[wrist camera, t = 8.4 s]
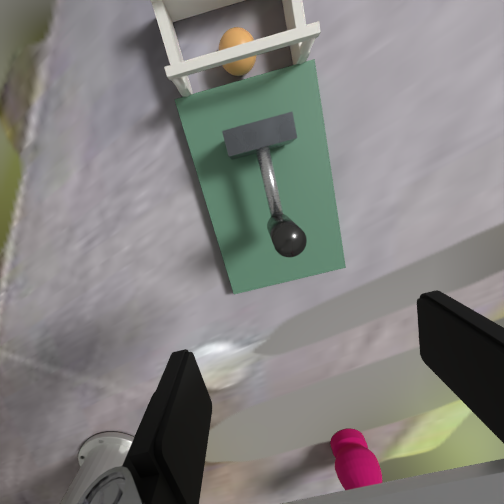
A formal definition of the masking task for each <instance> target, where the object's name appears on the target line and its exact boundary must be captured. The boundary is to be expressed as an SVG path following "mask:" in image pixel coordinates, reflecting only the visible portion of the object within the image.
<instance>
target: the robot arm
mask: <svg viewBox="0 0 504 504" xmlns="http://www.w3.org/2000/svg"><path fill="white" fill-rule="evenodd" d="M417 313H418V328H419V344H420V355H421V358H422V360H423V361H424V362H425V364H426V365H427V366H428V367H429V368H430V369H431V370H432V371H433V372H434V373H435V374H436V375H437V376H438V377H439V378H440V379H441V380H442V381H443V382H444V383H445V384H446V385H447V386H448V387H449V388H450V389H451V390H452V391H453V392H454V393H455V394H456V395H457V396H458V397H459V398H460V399H461V400H462V401H463V402H464V403H465V404H466V405H467V406H468V407H469V408H470V409H471V410H472V412H473V413H474V414H476V416H477V417H478V418H479V419H480V420H481V421H482V422H483V423H484V424H485V425H486V426H487V427H488V428H489V429H490V430H491V431H492V432H493V433H494V434H495V435H496V436H497V437H498V438H499V439H500V440H501V441H502V442H503V443H504V328H503V327H501V326H500V325H498V324H496V323H495V322H493V321H491V320H489V319H488V318H486V317H484V316H482V315H481V314H479V313H477V312H475V311H474V310H472V309H470V308H468V307H467V306H465V305H463V304H461V303H460V302H458V301H456V300H454V299H453V298H451V297H449V296H447V295H446V294H444V293H442V292H440V291H432V292H428V293H424V294H421V296H420V298H419V299H418V300H417ZM211 415H212V402H211V399H210V396H209V394H208V391H207V388H206V386H205V383H204V381H203V378H202V375H201V373H200V370H199V367H198V365H197V362H196V360H195V357H194V355H193V353H192V352H188V350H186V349H185V350H181V351H177V352H173V353H172V354H171V356H170V359H169V361H168V363H167V366H166V368H165V371H164V373H163V375H162V378H161V380H160V382H159V385H158V387H157V390H156V392H155V393H154V394H153V396H152V397H151V400H150V402H149V404H148V407H147V409H146V411H145V414H144V416H143V418H142V421H141V423H140V425H139V428H138V430H137V432H136V435H135V437H133V436H130V435H128V434H124V433H119V432H105V433H100V434H97V435H94V436H93V437H91V438H89V439H88V440H87V441H86V442H85V443H84V445H83V446H82V448H81V450H80V452H79V455H78V462H79V465H80V467H81V468H80V469H79V471H78V473H77V475H76V476H75V478H74V480H73V482H72V483H71V485H70V487H69V489H68V490H67V492H66V494H65V496H64V497H63V499H62V501H61V503H60V504H199V499H200V492H201V485H202V478H203V471H204V464H205V457H206V449H207V443H208V436H209V429H210V422H211ZM282 504H504V459H501V460H495V461H490V462H485V463H480V464H475V465H470V466H464V467H460V468H454V469H450V470H444V471H439V472H434V473H429V474H424V475H419V476H414V477H409V478H404V479H400V480H394V481H389V482H384V483H379V484H374V485H369V486H364V487H359V488H355V489H350V490H345V491H340V492H335V493H330V494H325V495H320V496H315V497H311V498H306V499H301V500H296V501H292V502H287V503H282Z"/></svg>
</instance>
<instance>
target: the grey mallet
mask: <svg viewBox="0 0 504 504" xmlns="http://www.w3.org/2000/svg"><path fill="white" fill-rule="evenodd" d="M222 133H223V137H224V141H225V145H226V148H227V152H228V156H229V158H230V159H231V160H233V159H236V158H240V157H244V156H248V155H251V154H255V153H256V154H257V158H258V163H259V167H260V171H261V176H262V180H263V184H264V189H265V193H266V197H267V202H268V206H269V210H270V215H271V218H270V219H269V221H268V223H267V229H268V232H269V235H270V237H271V240H272V242H273V245H274V247H275V250H276V251H277V252H278V253H279V254H280V255H281V256H284V257H295V256H297V255H299V254H300V253H302V252H303V250H304V249H305V247H306V243H307V238H306V235H305V233H304V231H303V230H302V229H301V228H300V227H299V226H298V225H297V224H295V223H294V222H293V221H292V220H291V219H290V218H289V217H288V216H287V215H285V214H283V209H282V205H281V200H280V196H279V191H278V186H277V182H276V177H275V172H274V168H273V163H272V158H271V154H270V149H274V148H277V147H281V146H285V145H288V144H290V143H292V142H293V141H294V140H295V139H297V133H296V128H295V122H294V117H293V111H292V112H288V113H285V114H281V115H278V116H274V117H270V118H267V119H263V120H259V121H256V122H252V123H249V124H245V125H241V126H238V127H234V128H231V129H227V130H223V131H222Z"/></svg>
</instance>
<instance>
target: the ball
mask: <svg viewBox="0 0 504 504" xmlns="http://www.w3.org/2000/svg"><path fill="white" fill-rule="evenodd" d="M250 41H254V39H253V37H252V36H251V34H250V33H249V32H248V31H246V30H245V29H243V28H239V27H234V28H231V29H229V30H228V31H226V32H225V33H224V35H223V36H222V38H221V40H220V44H219V51H220V50H223V49H227V48H230V47H233V46H237V45H240V44H243V43H247V42H250ZM255 61H256V55H255V56H252V57H249V58H245V59H242V60H238V61H235V62H231V63H228V64H225V65H222V66H223V67H224V69H225V70H226V71H227V72H228V73H230V74H232V75H234V76H242V75H245V74H247V73H248V72H249V71H250V70H251V69H252V67H253V66H254V63H255Z"/></svg>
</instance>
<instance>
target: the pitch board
mask: <svg viewBox="0 0 504 504" xmlns="http://www.w3.org/2000/svg"><path fill="white" fill-rule="evenodd" d="M175 103H176V106H177V109H178V112H179V116H180V119H181V122H182V126H183V129H184V132H185V135H186V139H187V142H188V145H189V149H190V152H191V155H192V158H193V162H194V165H195V168H196V172H197V175H198V178H199V181H200V185H201V188H202V191H203V195H204V198H205V201H206V204H207V208H208V211H209V214H210V218H211V221H212V224H213V227H214V231H215V234H216V237H217V240H218V244H219V247H220V250H221V254H222V257H223V260H224V263H225V267H226V270H227V273H228V277H229V280H230V283H231V286H232V290H233V293H234V294H238V293H242V292H246V291H250V290H254V289H258V288H263V287H267V286H271V285H275V284H279V283H283V282H288V281H292V280H296V279H300V278H304V277H308V276H313V275H317V274H321V273H325V272H329V271H333V270H338V269H342V268H346V266H345V260H344V253H343V246H342V240H341V233H340V226H339V220H338V213H337V206H336V200H335V193H334V186H333V179H332V173H331V166H330V159H329V153H328V146H327V139H326V133H325V126H324V119H323V113H322V106H321V99H320V93H319V86H318V79H317V72H316V66H315V59H313V60H310V61H306V62H304V63H302V64H296V65H292V66H289V67H285V68H282V69H278V70H275V71H272V72H268V73H265V74H261V75H258V76H254V77H251V78H247V79H244V80H240V81H237V82H233V83H230V84H226V85H223V86H219V87H216V88H212V89H209V90H205V91H202V92H198V93H195V94H191V95H189V96H188V97H185V96H184V97H181V98H177V99H175ZM292 111H293V117H294V122H295V128H296V133H297V139H295V140H294V141H293V142H292V143H290V144H288V145H285V146H281V147H277V148H274V149H270V154H271V158H272V163H273V168H274V172H275V177H276V182H277V186H278V191H279V196H280V200H281V205H282V209H283V214H285V215H287V216H288V217H289V218H290V219H291V220H292V221H293V222H294V223H295V224H297V225H298V226H299V227H300V228H301V229H302V230H303V231H304V233H305V235H306V238H307V243H306V247H305V249H304V250H303V252H302V253H300V254H299V255H297V256H295V257H284V256H281V255H280V254H279V253H278V252H277V251H276V250H275V247H274V245H273V242H272V240H271V237H270V235H269V232H268V229H267V223H268V221H269V219H270V218H271V215H270V210H269V206H268V202H267V197H266V193H265V189H264V184H263V180H262V176H261V171H260V167H259V163H258V158H257V154H256V153H255V154H251V155H248V156H244V157H240V158H236V159H233V160H231V159H230V158H229V156H228V152H227V148H226V145H225V141H224V137H223V133H222V131H223V130H227V129H231V128H234V127H238V126H241V125H245V124H249V123H252V122H256V121H259V120H263V119H267V118H270V117H274V116H278V115H281V114H285V113H288V112H292Z"/></svg>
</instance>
